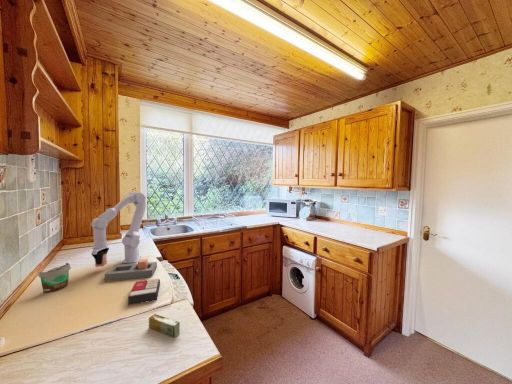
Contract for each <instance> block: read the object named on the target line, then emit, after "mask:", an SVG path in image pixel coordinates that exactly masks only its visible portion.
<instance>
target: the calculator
mask: <svg viewBox="0 0 512 384" xmlns="http://www.w3.org/2000/svg"><path fill="white" fill-rule="evenodd" d="M160 286H161V279H160V278H153V279H147V280H146V279H144V280H139V281H135V282H134V284H133V285H132V288H131V290H130V292H129V294H128V296H127V302H128V303H127V304H128V306H131V305H137V304H142V303H141V302H143V303H147V302H146V301H149V302H153V301H152V300H155V301H157V300H158V298H159V297H158V296H159V291H160ZM157 297H158V298H157Z"/></svg>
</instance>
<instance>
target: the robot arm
mask: <svg viewBox="0 0 512 384" xmlns="http://www.w3.org/2000/svg"><path fill="white" fill-rule="evenodd" d="M146 199H147V196H146V195H145V193H143V192H142V191H139V192H137V191H130V192H128V193H127V194H126V195H125V196H124V197H122V199H121V200H120V201H119V202H118V203H117V204H115V205H114V207H109V208H106V209H105V211H104V212H102V213H101V214H99V215H98V216H97V217H95V218H94V219H92V221H91V223H90V226H91V227H92V230H93V233H92V235H93V246H92V247H91V250H92V251H91V256H92V257H93V259H94V262H95V261H96V264H97V265H99V264H102V257H103V254H105V253H106V256H107V254H108V252H109V250H110V247H109V243H108V242H107V227H108V225H109V223H110V222H111V221H112V220H113V219H114V218H116V217H117V216H118V213H119V212H120V211H121V210H123V208H124V207H126V206H127V205H128V204H133V205H134V206H135V211H134V213H133V217H132V219H131V223H130V226H129V230H128V231H127V232H126V233H125V235H124V236H123V238H121V243H122V245H123V246H124V260H123V261H122V264H134V263H138V261H139V260H140V258H141V257H142V256H140V248H139V244H140V238H141V236H140V233H139V231H140V228H141V225H142V221H143V218H144V215H145V212H146V208H147V202H146V201H147V200H146Z"/></svg>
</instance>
